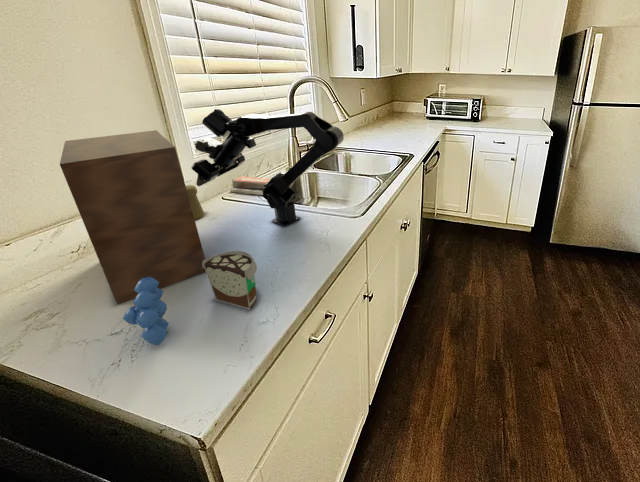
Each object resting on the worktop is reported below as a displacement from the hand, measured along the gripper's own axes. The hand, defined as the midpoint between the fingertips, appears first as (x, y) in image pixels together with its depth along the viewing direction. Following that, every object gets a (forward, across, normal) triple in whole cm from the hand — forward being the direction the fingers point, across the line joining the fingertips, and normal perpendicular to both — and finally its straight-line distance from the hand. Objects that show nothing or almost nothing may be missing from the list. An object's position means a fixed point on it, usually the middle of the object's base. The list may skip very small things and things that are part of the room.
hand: (207, 180), depth 105 cm
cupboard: (+9, +27, +10) cm, 30 cm away
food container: (-12, +37, +32) cm, 50 cm away
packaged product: (+9, -25, +10) cm, 29 cm away
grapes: (-5, +49, +24) cm, 55 cm away
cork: (+15, 0, +4) cm, 16 cm away
